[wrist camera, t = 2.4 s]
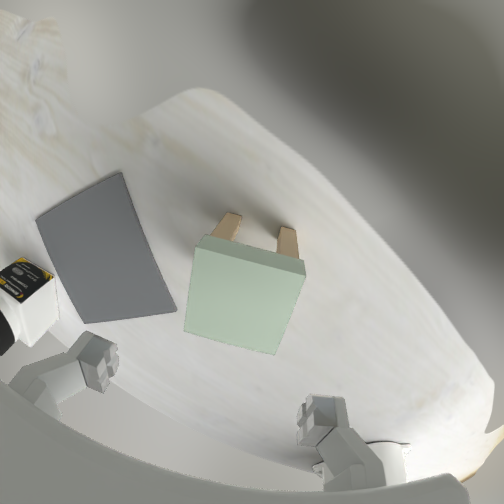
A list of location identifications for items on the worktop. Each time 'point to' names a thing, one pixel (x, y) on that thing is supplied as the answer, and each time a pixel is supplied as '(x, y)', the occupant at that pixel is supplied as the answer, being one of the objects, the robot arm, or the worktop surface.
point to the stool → (243, 288)
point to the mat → (104, 255)
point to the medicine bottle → (26, 303)
